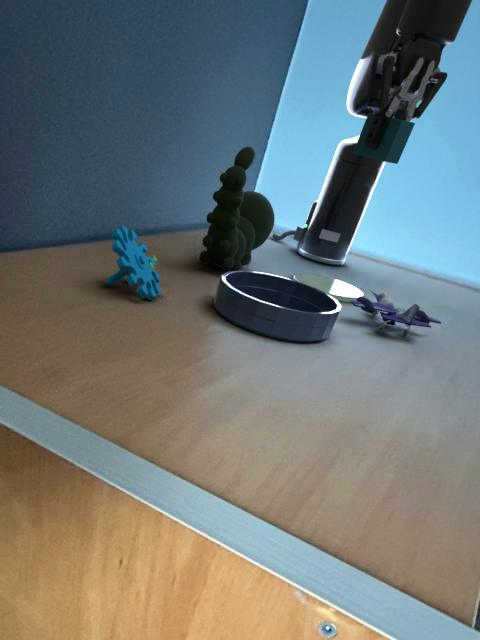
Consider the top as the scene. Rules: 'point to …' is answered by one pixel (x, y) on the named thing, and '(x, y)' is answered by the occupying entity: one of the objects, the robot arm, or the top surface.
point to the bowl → (276, 306)
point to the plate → (330, 286)
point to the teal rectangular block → (386, 140)
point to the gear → (134, 264)
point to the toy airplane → (394, 312)
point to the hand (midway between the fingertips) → (378, 148)
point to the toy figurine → (236, 218)
